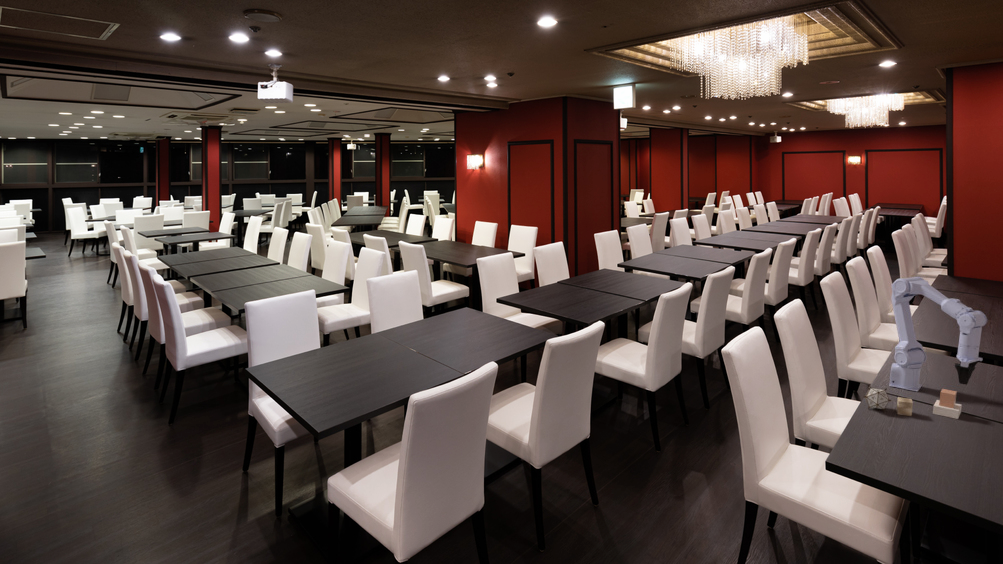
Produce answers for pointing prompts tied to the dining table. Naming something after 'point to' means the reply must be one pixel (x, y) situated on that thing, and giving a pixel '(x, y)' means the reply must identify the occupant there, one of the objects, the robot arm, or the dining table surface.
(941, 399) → the terracotta block
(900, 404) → the maple block
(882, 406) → the game die
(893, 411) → the dining table surface
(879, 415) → the dining table surface
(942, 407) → the slab
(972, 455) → the dining table surface
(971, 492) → the dining table surface
